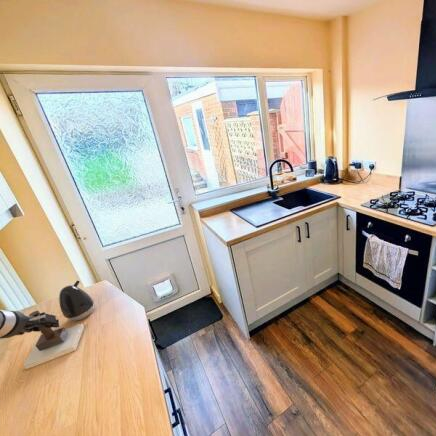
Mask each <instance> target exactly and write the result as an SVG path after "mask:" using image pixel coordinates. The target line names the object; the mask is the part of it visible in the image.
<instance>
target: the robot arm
mask: <svg viewBox="0 0 436 436" xmlns="http://www.w3.org/2000/svg"><path fill="white" fill-rule="evenodd" d="M40 326H45V327H47V328H50V327H51V328H57V329H58V328H59V327H60V321H59V319H58V318H57V317H56V315H54V314H49V313H46V311H45V312H40V314H39V315H38V316H37V317H33V316H29V315H26V314H24V313H23V312H22V311H19V310H5V309H0V340H1V339H9V338H12V337H16V336H23V335H25V333H27V334H28V333H29V334H30V333H32V332H33V333H34V332H39V333H40V331H39V329H38V328H37V327H40Z"/></svg>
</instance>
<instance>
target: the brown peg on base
mask: <svg viewBox="0 0 436 436" xmlns="http://www.w3.org/2000/svg"><path fill="white" fill-rule="evenodd" d="M40 313H41V312H40V311H39V310H35V311H32V312H31V313H29V314H28V316H33V317H37V316H38V315H39V314H40ZM37 328H38V329H39V333H41V334H40V336H39V338H38V339H39V340H38V339H37V340H38V341H37V340H36V342H37V343H36V342H35V343H36V345H35V344H34V345H35V346H36V347H37V348H38V350H39V351H42V350H44V349H47V348H50V347H53V346H55V345H58V344H61V343H63V342H64V341H65V338H66V336H67V334H68V332H67V330H66V329H67V328H66V327H65V326H62V327H61V328H57V329H54V330H53V328H52V327H50V328H47V327H45V326H40V327H37Z"/></svg>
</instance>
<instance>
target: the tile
mask: <svg viewBox="0 0 436 436" xmlns="http://www.w3.org/2000/svg"><path fill="white" fill-rule="evenodd" d="M65 329H66V330H67V332H68V334H67V336H66V338H65V341H64V342H63V343H61V344H58V345H55V346H53V347H50V348H47V349H44V350H42V351H39V350H38V348H37V347H36V346H35V345H36V343H37V341H38V340H39V338H37V340H36V341H35V343H34V345H33V347H32V348H31V351H30V352H29V354H28V356H27V358H26V359H25V361H24V363H23V364H22V366H23V367H24V369H25V370H29V369H32V368H34V367H36V366H39V365H41V364H44V363H46V362H49V361H52V360H54V359H57V358H59V357H62V356H65V355H68V354H69V353H72V352H75V351H76V350H77V348H78V345H79V342H80V339H81V337H82V334H83V332H84V329H85V326H84V324H83V323H79V324H76V325H73V326H71V327H67V328H65Z"/></svg>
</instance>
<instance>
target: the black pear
mask: <svg viewBox="0 0 436 436" xmlns="http://www.w3.org/2000/svg"><path fill="white" fill-rule="evenodd" d="M79 284H80V280H76V281H75V283H74V284H73V285H72V284H71V285H66V286H64V287H63V288H62V289H61V290H60V292H59V294H58V302H59V308H60V311H61V314H62V315H63V317H64V318H66V319H67V320H70V321H81V320H83V319H85V318H86V317H88V316H89V315H91V313H92V312H93V310H94V306H95V305H94V304H95V302H94V300H93V298H92V297H91V296H90V295H89V294H88V293H87V292H86V291H85V290H83V289H82V288H81V287H79Z"/></svg>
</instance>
